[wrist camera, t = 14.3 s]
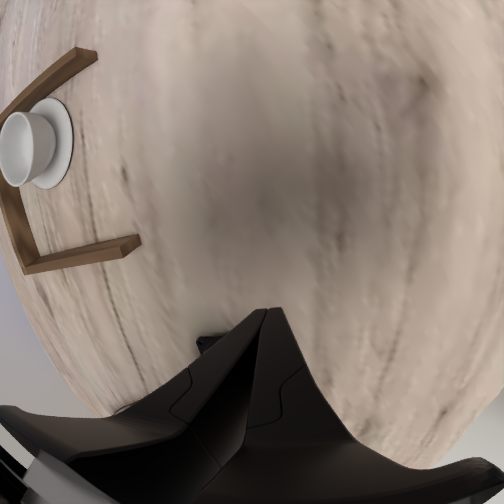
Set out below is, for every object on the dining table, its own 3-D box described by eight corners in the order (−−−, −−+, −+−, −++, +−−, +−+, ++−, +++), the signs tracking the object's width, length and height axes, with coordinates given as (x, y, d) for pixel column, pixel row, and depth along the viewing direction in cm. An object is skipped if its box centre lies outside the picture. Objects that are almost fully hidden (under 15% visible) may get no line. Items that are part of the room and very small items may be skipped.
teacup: (50, 80, 19) (17, 79, 15) (90, 139, 21) (54, 145, 17) (15, 147, 23) (-14, 154, 19) (49, 206, 25) (19, 219, 21)
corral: (141, 244, 24) (123, 257, 22) (39, 265, 29) (24, 275, 26) (96, 51, 18) (75, 46, 15) (3, 127, 22) (-14, 131, 19)
